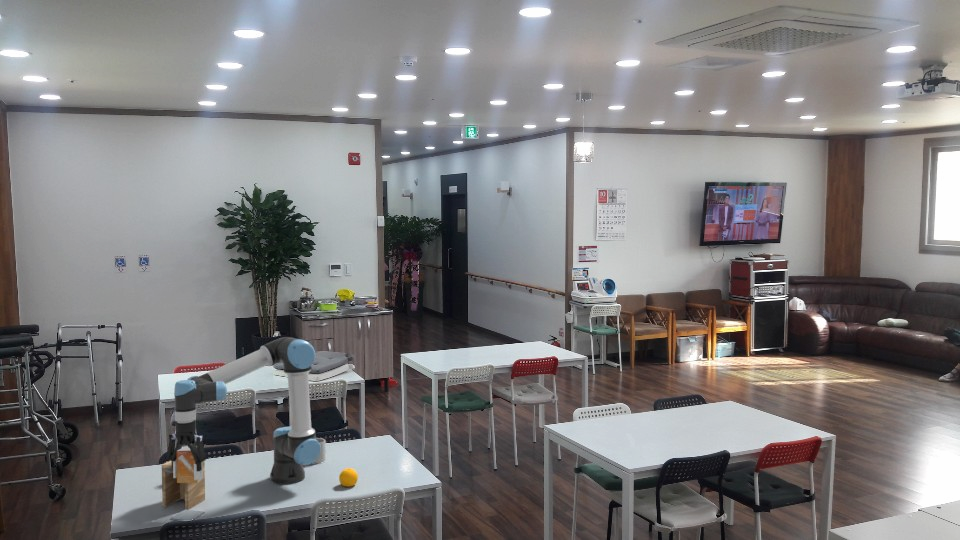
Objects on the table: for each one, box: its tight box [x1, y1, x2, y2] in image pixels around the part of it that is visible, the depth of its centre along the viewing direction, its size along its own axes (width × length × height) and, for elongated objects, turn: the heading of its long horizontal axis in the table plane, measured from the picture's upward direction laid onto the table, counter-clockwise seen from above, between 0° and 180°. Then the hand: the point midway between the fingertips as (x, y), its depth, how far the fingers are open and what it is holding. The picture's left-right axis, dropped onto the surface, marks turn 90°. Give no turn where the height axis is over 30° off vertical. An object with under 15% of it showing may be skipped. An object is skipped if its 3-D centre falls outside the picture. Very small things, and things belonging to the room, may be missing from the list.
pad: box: [169, 508, 206, 521], centre depth 290 cm, size 9×9×1 cm
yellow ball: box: [338, 467, 359, 488], centre depth 325 cm, size 8×8×8 cm
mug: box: [313, 437, 327, 464], centre depth 359 cm, size 12×9×10 cm
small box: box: [177, 445, 203, 483], centre depth 291 cm, size 8×6×13 cm
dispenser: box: [161, 459, 206, 510], centre depth 303 cm, size 12×11×17 cm
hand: (186, 478), depth 289 cm, fingers closed on small box, 9 cm apart
